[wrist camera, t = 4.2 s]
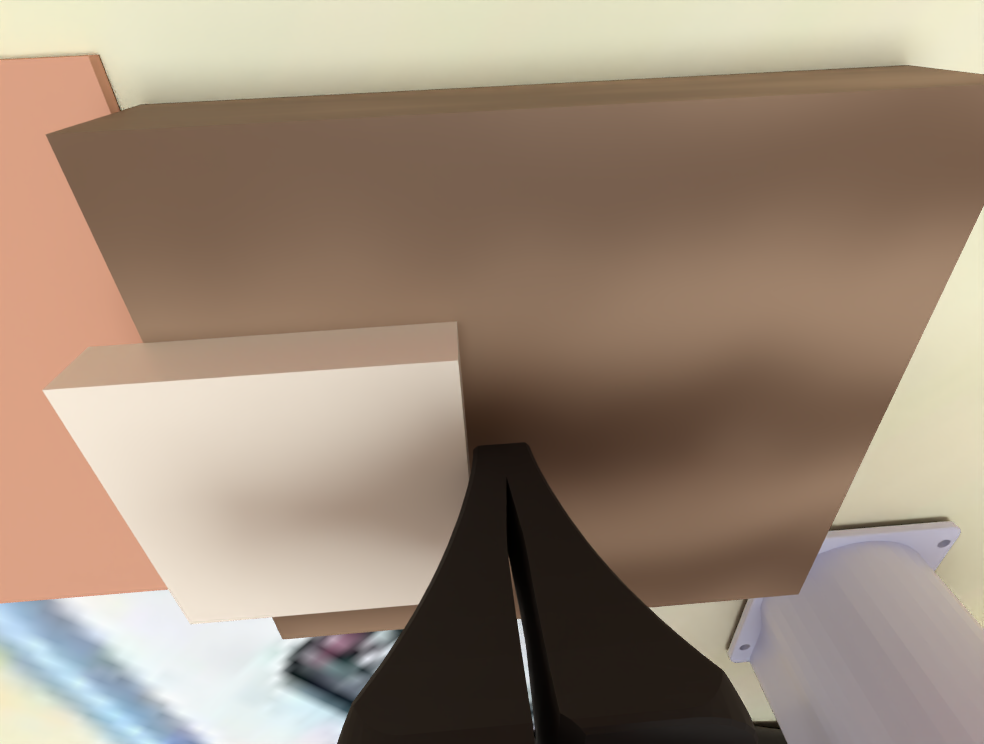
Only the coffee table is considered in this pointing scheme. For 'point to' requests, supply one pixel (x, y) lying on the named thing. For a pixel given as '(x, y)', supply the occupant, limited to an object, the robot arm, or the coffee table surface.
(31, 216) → the mat
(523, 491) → the robot arm
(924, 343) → the coffee table surface
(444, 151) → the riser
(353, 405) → the coaster
